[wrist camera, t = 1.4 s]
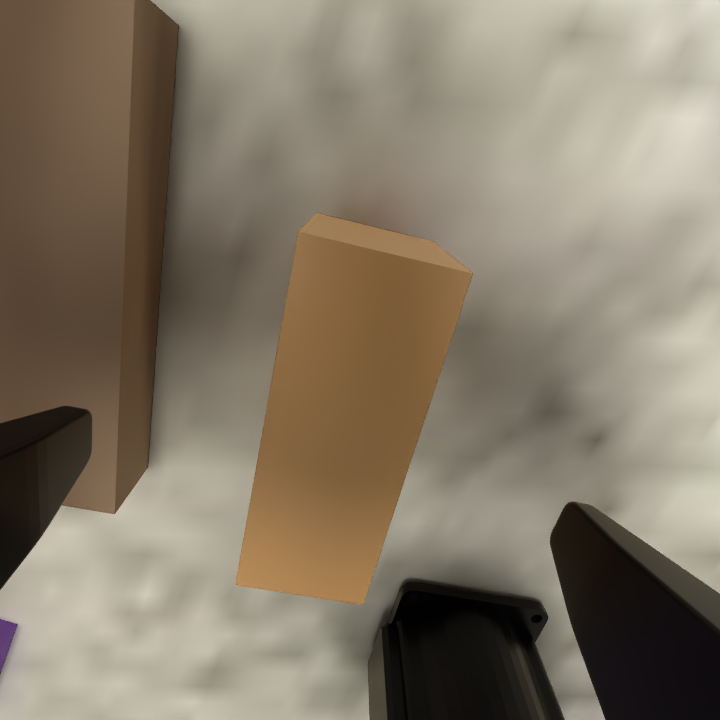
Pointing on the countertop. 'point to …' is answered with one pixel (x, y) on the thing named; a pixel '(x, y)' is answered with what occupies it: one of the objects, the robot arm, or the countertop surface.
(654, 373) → the countertop surface
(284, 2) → the countertop surface
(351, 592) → the tan wooden block
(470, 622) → the robot arm
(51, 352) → the brown slotted square board
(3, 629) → the bracket
